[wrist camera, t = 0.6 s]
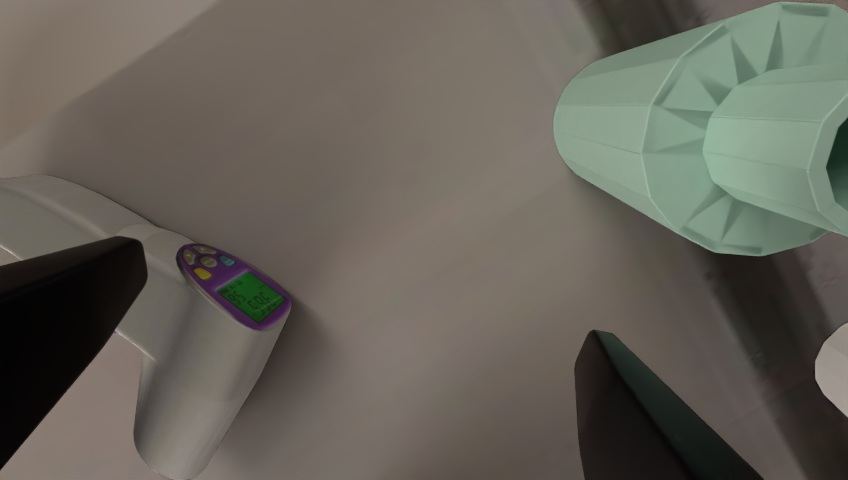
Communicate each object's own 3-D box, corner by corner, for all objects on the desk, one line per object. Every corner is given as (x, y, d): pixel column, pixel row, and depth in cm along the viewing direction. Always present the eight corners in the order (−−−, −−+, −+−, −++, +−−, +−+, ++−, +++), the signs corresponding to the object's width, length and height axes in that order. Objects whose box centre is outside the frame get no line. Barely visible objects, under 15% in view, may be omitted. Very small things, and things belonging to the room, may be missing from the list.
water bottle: (666, 188, 22) (1021, 330, 8) (545, 179, 22) (687, 301, 8) (695, 58, 20) (1198, -39, 7) (562, 51, 21) (776, -59, 7)
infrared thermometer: (61, 152, 25) (308, 285, 25) (14, 332, 28) (231, 448, 28) (-31, 159, 20) (270, 321, 20) (-74, 371, 24) (184, 509, 24)
